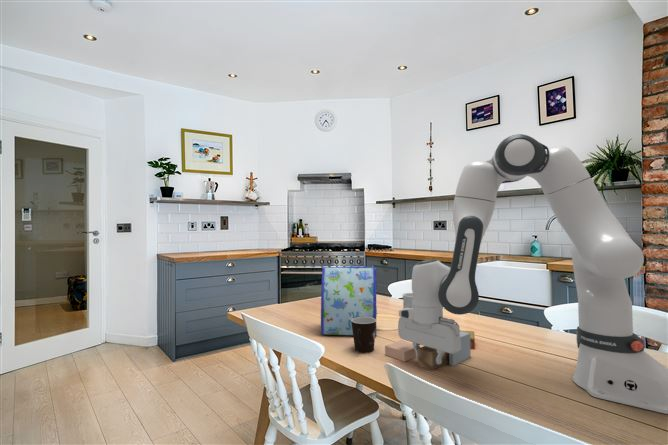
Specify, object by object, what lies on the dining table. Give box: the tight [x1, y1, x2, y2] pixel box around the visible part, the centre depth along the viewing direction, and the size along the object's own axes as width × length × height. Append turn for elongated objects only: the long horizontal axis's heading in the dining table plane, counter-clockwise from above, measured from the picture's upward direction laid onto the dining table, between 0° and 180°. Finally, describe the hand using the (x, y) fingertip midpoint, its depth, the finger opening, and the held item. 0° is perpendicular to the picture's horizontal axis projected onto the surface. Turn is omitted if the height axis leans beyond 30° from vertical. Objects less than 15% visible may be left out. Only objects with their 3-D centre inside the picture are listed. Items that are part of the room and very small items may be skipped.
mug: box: [402, 292, 413, 309], centre depth 162 cm, size 12×9×10 cm
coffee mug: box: [351, 317, 377, 354], centre depth 120 cm, size 12×9×10 cm
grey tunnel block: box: [448, 330, 472, 367], centre depth 113 cm, size 9×10×8 cm
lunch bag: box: [320, 265, 378, 337], centre depth 143 cm, size 22×17×26 cm
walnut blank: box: [417, 345, 449, 371], centre depth 109 cm, size 5×13×5 cm, turn 129°
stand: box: [384, 339, 417, 362], centre depth 115 cm, size 8×8×3 cm
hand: (428, 360), depth 106 cm, fingers closed on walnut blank, 5 cm apart
